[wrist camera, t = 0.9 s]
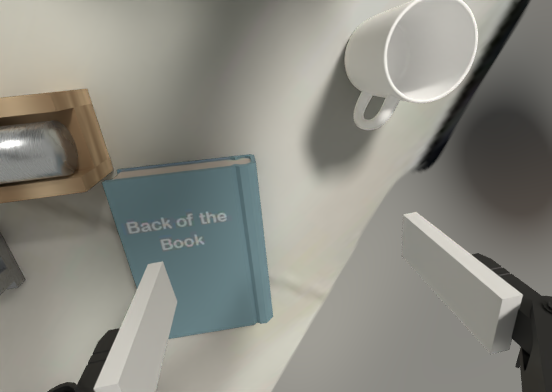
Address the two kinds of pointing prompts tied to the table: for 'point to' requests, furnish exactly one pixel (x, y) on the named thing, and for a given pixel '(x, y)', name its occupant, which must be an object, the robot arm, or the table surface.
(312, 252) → the table surface
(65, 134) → the axle
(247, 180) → the book
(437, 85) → the cup
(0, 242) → the v block
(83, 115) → the beam
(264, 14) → the table surface
